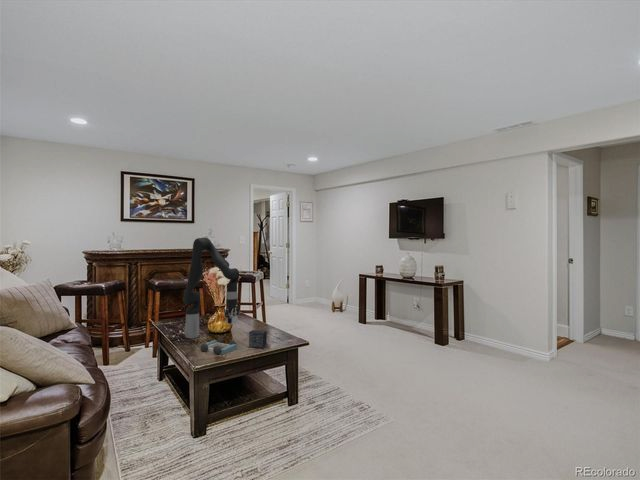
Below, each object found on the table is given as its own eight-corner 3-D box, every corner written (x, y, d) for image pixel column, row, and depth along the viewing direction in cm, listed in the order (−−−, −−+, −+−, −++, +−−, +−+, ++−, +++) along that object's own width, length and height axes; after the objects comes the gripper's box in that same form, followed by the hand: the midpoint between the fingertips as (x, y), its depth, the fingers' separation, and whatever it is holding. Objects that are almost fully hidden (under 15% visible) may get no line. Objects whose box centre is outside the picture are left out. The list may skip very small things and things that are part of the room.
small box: (267, 345, 239) (267, 330, 239) (263, 348, 233) (263, 333, 233) (252, 344, 242) (252, 329, 242) (248, 347, 235) (248, 332, 235)
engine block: (226, 323, 240) (226, 316, 240) (230, 321, 245) (230, 314, 244) (233, 324, 238) (233, 317, 238) (237, 322, 242) (237, 315, 242)
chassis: (198, 350, 229) (198, 342, 229) (215, 343, 243) (215, 336, 243) (221, 355, 220) (221, 347, 220) (238, 348, 233) (238, 340, 233)
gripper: (234, 295, 249) (234, 319, 249) (220, 299, 236) (220, 324, 236) (243, 296, 245) (242, 321, 246) (229, 300, 233) (229, 325, 233)
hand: (231, 322), depth 241 cm, fingers closed on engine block, 4 cm apart
